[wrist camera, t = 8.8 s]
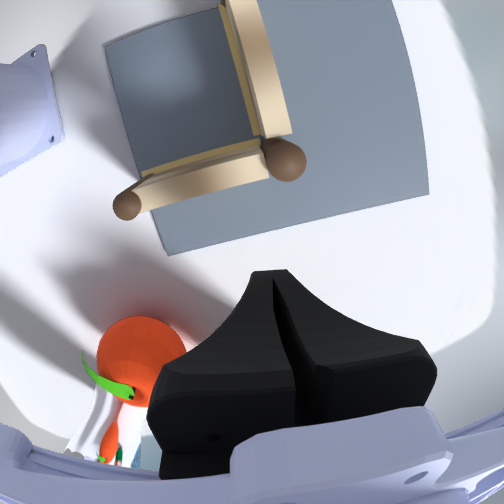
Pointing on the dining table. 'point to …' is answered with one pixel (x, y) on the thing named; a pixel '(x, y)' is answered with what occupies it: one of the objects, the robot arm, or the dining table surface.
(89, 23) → the dining table surface
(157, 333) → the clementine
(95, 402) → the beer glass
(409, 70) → the card
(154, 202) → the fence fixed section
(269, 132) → the panel
